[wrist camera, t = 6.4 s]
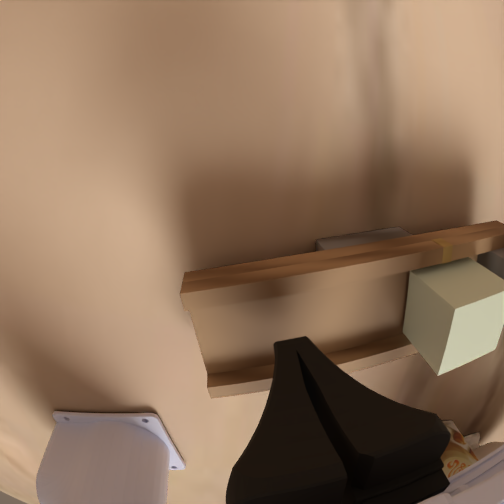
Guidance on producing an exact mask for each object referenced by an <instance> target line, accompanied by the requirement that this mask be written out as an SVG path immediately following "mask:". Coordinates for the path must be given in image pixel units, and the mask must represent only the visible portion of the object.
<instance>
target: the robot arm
mask: <svg viewBox="0 0 504 504" xmlns="http://www.w3.org/2000/svg"><path fill="white" fill-rule="evenodd" d="M273 347H274V355H275V364H274V372H273V379H272V384H271V388H270V392H269V396H268V400H267V403H266V406H265V409H264V412H263V414H262V417H261V419H260V422H259V424H258V426H257V428H256V430H255V432H254V434H253V436H252V438H251V440H250V442H249V444H248V445H247V447H246V449H245V450H244V452H243V453H242V455H241V456H240V458H239V459H238V461H237V462H236V464H235V465H234V467H233V468H232V472H231V475H230V478H229V482H228V486H227V491H226V504H504V444H503V445H502V446H500V447H499V448H497V449H496V450H495V451H493V452H491V453H490V454H488V455H487V456H485V457H484V458H482V459H481V460H479V461H477V462H476V463H474V464H472V465H471V466H469V467H467V468H465V469H464V470H462V471H460V472H458V473H457V474H455V475H453V476H451V477H449V478H447V477H446V475H445V473H444V472H443V470H442V468H443V467H444V463H443V462H442V460H441V456H442V454H443V453H444V451H445V449H446V447H447V446H448V444H449V441H450V438H451V434H450V432H449V430H448V429H447V427H446V426H445V425H444V423H443V422H442V421H441V420H440V418H439V417H438V416H437V415H436V414H434V413H430V412H426V411H422V410H418V409H414V408H411V407H408V406H406V405H403V404H400V403H397V402H395V401H393V400H391V399H388V398H386V397H384V396H382V395H380V394H378V393H376V392H374V391H372V390H370V389H369V388H367V387H366V386H364V385H362V384H361V383H359V382H358V381H356V380H355V379H353V378H352V377H351V376H349V375H348V374H347V373H345V372H344V371H343V370H342V369H340V368H339V367H338V366H337V365H336V364H334V363H333V362H332V361H331V360H330V359H329V358H328V357H327V356H326V355H325V354H324V353H322V352H321V351H320V350H319V349H318V347H317V346H316V345H315V344H314V343H313V342H312V341H311V340H310V339H309V338H308V337H307V336H303V337H298V338H293V339H287V340H282V341H276V342H275V343H274V344H273ZM52 416H53V418H54V419H55V421H56V422H57V423H56V425H55V428H54V430H53V432H52V435H51V438H50V440H49V443H48V445H47V448H46V451H45V453H44V456H43V459H42V461H41V464H40V467H39V470H38V473H37V479H36V489H37V496H38V499H39V502H40V504H167V490H168V476H169V470H182V469H185V467H186V465H185V463H184V461H183V459H182V458H181V456H180V454H179V453H178V451H177V449H176V447H175V446H174V444H173V442H172V440H171V439H170V437H169V435H168V433H167V431H166V430H165V428H164V426H163V424H162V422H161V420H160V418H159V417H158V415H156V414H154V413H78V412H61V411H54V412H53V414H52Z"/></svg>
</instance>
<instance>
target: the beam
mask: <svg viewBox="0 0 504 504" xmlns="http://www.w3.org/2000/svg"><path fill="white" fill-rule="evenodd" d="M466 257H469V258H471V259H472V260H474V261H476V262H477V263H479V264H480V265H482V266H483V267H485V268H487V269H488V270H490V271H491V272H493V273H494V274H496V275H497V276H499V277H500V278H502V279H503V280H504V224H503V223H501V222H498V221H491V222H486V223H480V224H475V225H469V226H463V227H458V228H452V229H446V230H441V231H435V232H429V233H423V234H417V235H412V234H410V233H408V232H407V231H405V230H403V229H402V228H400V227H394V228H387V229H381V230H375V231H368V232H362V233H355V234H349V235H342V236H336V237H330V238H323V239H317V240H316V252H310V253H304V254H298V255H292V256H286V257H280V258H273V259H267V260H261V261H255V262H248V263H242V264H236V265H229V266H223V267H217V268H210V269H204V270H197V271H191V272H185V274H184V278H183V282H182V287H181V291H180V296H181V299H182V303H183V307H184V311H189V310H190V314H191V318H192V321H193V325H194V329H195V332H196V336H197V340H198V343H199V347H200V350H201V354H202V357H203V360H204V364H205V367H206V371H207V374H208V375H207V388H208V391H209V394H210V397H211V398H219V397H227V396H235V395H242V394H249V393H255V392H262V391H268V390H270V388H271V384H272V379H273V372H274V364H275V355H274V347H273V344H274V343H275V342H276V341H282V340H287V339H293V338H298V337H303V336H307V337H308V338H309V339H310V340H311V341H312V342H313V343H314V344H315V345H316V346H317V347H318V349H319V350H320V351H321V352H322V353H324V354H325V355H326V356H327V357H328V358H329V359H330V360H331V361H332V362H333V363H334V364H336V365H337V366H338V367H339V368H340V369H342V370H343V371H344V372H345V373H347V374H348V373H351V372H355V371H359V370H363V369H366V368H370V367H373V366H377V365H380V364H384V363H387V362H390V361H394V360H397V359H400V358H403V357H406V356H409V355H412V354H415V353H418V351H417V349H416V348H415V347H414V346H413V344H412V343H411V342H410V341H409V339H408V338H407V337H406V336H405V335H404V333H403V325H404V318H405V311H406V303H407V294H408V285H409V275H410V271H411V270H415V269H420V268H424V267H428V266H433V265H437V264H441V263H442V264H444V263H448V262H451V261H454V260H458V259H462V258H466ZM503 327H504V325H503Z"/></svg>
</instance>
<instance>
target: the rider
mask: <svg viewBox="0 0 504 504" xmlns="http://www.w3.org/2000/svg"><path fill="white" fill-rule="evenodd" d="M503 325H504V280H503V279H502V278H500V277H499V276H497V275H496V274H494V273H493V272H491V271H490V270H488V269H487V268H485V267H483V266H482V265H480V264H479V263H477V262H476V261H474V260H472V259H471V258H469V257H466V258H462V259H458V260H454V261H451V262H448V263H444V264H442V263H441V264H437V265H433V266H428V267H424V268H420V269H415V270H411V271H410V275H409V285H408V294H407V303H406V311H405V318H404V325H403V333H404V335H405V336H406V337H407V338H408V339H409V341H410V342H411V343H412V344H413V346H414V347H415V348H416V349H417V351H418V352H419V353H420V354H421V355H422V357H423V358H424V359H425V361H426V362H427V363H428V364H429V366H430V367H431V368H432V369H433V371H434V372H435V373H436V375H437V376H438V375H441V374H443V373H446V372H448V371H450V370H453V369H455V368H457V367H460V366H462V365H464V364H466V363H468V362H471V361H473V360H475V359H477V358H479V357H481V356H483V355H485V354H487V353H489V352H491V351H493V350H495V349H496V346H497V343H498V341H499V338H500V335H501V332H502V328H503Z"/></svg>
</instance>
